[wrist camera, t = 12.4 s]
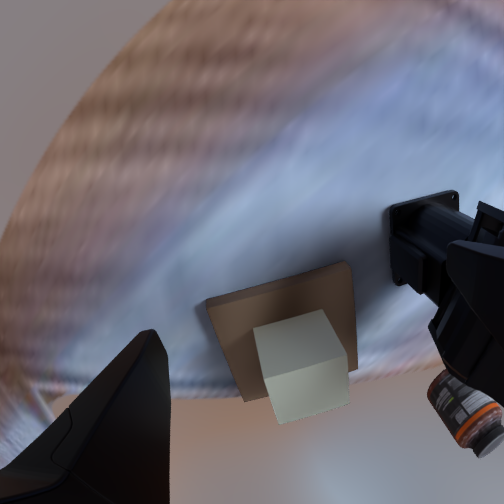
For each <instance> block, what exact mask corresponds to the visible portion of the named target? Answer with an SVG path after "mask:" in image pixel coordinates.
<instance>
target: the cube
mask: <svg viewBox="0 0 504 504" xmlns="http://www.w3.org/2000/svg"><path fill="white" fill-rule="evenodd" d="M253 331H254V336H255V341H256V346H257V350H258V355H259V360H260V365H261V369H262V374H263V379H264V382H265V385H266V388H267V391H268V394H269V397H270V400H271V403H272V406H273V409H274V412H275V415H276V418H277V421H278V424H279V425H281V424H285V423H288V422H292V421H296V420H299V419H303V418H306V417H310V416H313V415H317V414H320V413H323V412H326V411H329V410H332V409H336V408H339V407H341V406H345V405H348V404H349V403H350V402H349V377H348V360H347V353H346V351H345V349H344V348H343V346H342V344H341V342H340V340H339V338H338V337H337V335H336V333H335V331H334V329H333V327H332V326H331V324H330V322H329V320H328V318H327V317H326V315H325V313H324V311H323V309H320V310H316V311H313V312H310V313H306V314H303V315H299V316H296V317H292V318H289V319H285V320H282V321H278V322H275V323H271V324H267V325H263V326H260V327H256V328H253Z"/></svg>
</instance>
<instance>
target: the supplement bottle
mask: <svg viewBox="0 0 504 504" xmlns="http://www.w3.org/2000/svg"><path fill="white" fill-rule="evenodd" d="M427 397H428V400H429V401H430V403H431V404H432V406H433V407H434V409H435V410H436V412H437V413H438V415H439V416H440V418H441V419H442V421H443V422H444V424H445V425H446V427H447V428H448V430H449V431H450V433H451V435H452V436H453V438H454V439H455V440H456V442H457V443H458V445H459V446H460V447H462V448H471V449H473V452H474V453H475V454H476V456H477V457H478V458H482V457H484V456H486V455H487V454H489V453H490V452H492V451H493V450H494V449H495V448H496V447H497V446H499V445H500V443H501V442H502V441H503V440H504V427H503V426H502V425H501V417H502V411H501V409H500V407H499V406H498V405H497V403H496V402H495V401H494V400H493V399H492V398H491V397H489V396H487V395H486V394H484V393H482V392H481V391H478V390H476V389H473V388H470V387H468V386H467V385H465V384H464V383H462V382H460V381H459V380H458V379H456V378H455V377H454V376H452V375H450V374H449V372H448V370H447V368H446V369H445V370H443V371H442V372H441V373H440V374H439V375H438V376H437V377H436V378H435V379H434V381H433V382H432V383H431V385H430V386H429V389H428V392H427Z"/></svg>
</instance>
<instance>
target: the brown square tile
mask: <svg viewBox="0 0 504 504" xmlns="http://www.w3.org/2000/svg"><path fill="white" fill-rule="evenodd" d="M206 309H207V312H208V315H209V317H210V320H211V322H212V325H213V327H214V330H215V333H216V335H217V338H218V340H219V343H220V345H221V348H222V350H223V353H224V355H225V358H226V360H227V362H228V365H229V367H230V370H231V372H232V375H233V377H234V379H235V382H236V384H237V386H238V389H239V391H240V393H241V396H242V398H243V400H244V402H247V401H251V400H255V399H259V398H263V397H267V396H269V394H268V391H267V388H266V385H265V382H264V379H263V374H262V369H261V365H260V360H259V355H258V350H257V346H256V341H255V336H254V331H253V328H256V327H260V326H263V325H267V324H271V323H275V322H278V321H282V320H285V319H289V318H292V317H296V316H299V315H303V314H306V313H310V312H313V311H316V310H320V309H323V311H324V313H325V315H326V317H327V318H328V320H329V322H330V324H331V326H332V327H333V329H334V331H335V333H336V335H337V337H338V338H339V340H340V342H341V344H342V346H343V348H344V349H345V351H346V353H347V360H348V372H351V371H354V370H356V369H358V354H357V334H356V317H355V304H354V291H353V280H352V270H351V267H350V266H349V265H348V264H347V263H346V262H345V261H343V262H339V263H336V264H333V265H329V266H326V267H322V268H319V269H315V270H312V271H308V272H305V273H301V274H298V275H294V276H291V277H287V278H284V279H280V280H277V281H273V282H269V283H266V284H262V285H258V286H255V287H251V288H247V289H244V290H240V291H236V292H232V293H229V294H225V295H221V296H217V297H213V298H210V299H206Z"/></svg>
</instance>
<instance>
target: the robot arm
mask: <svg viewBox="0 0 504 504" xmlns="http://www.w3.org/2000/svg"><path fill="white" fill-rule="evenodd" d="M453 195H454V197H453ZM452 197H453V199H452ZM477 209H478V211H477V214H476V217H475V219H473V218H471V217H469V216H467V215H465V214H463V213H461V212H459V194H458V192H456V191H454V190H449V191H445V192H441V193H437V194H434V195H430V196H426V197H422V198H418V199H414V200H410V201H407V202H403V203H399V204H395V205H393V206H392V207H391V208H390V211H389V215H390V229H391V236H390V238H389V242H390V263H391V268H392V273H393V282H394V283H395V284H396V285H397V286H402V285H404V284H407V283H408V284H409V285H410V286H411V287H412V288H413V289H414V290H415V291H416V292H417V293H418V294H420V295H421V294H423V293H424V294H425V295H426V296H427V297H428V298H429V299H430V300H431V301H432V302H434V303H435V304H436V305H437V306H438V307H439V308H438V310H437V312H436V314H435V316H434V318H433V319H431V321H430V323H429V325H428V329H429V331H430V333H431V335H432V338H433V340H434V342H435V344H436V347H437V349H438V351H439V354H440V356H441V358H442V361H443V363H444V365H445V367H446V368H447V370H448V372H449V374H450V375H452V376H454V377H455V378H456V379H458V380H459V381H460V382H462V383H464V384H465V385H467V386H468V387H470V388H473V389H476V390H478V391H481V392H482V393H484V394H486V395H487V396H489V397H491V398H492V399H494V400H495V401H496V402H498V403H499V404H500V405H501V406H503V407H504V211H502V210H500V209H497V208H495V207H493V206H490V205H488V204H486V203H483V202H481V201H479V203H478V206H477ZM396 210H398V213H397V214H396V215H395V211H396ZM399 278H400V280H399V281H398V279H399ZM170 418H171V395H170V381H169V366H168V355H167V352H166V350H165V348H164V346H163V344H162V342H161V340H160V338H159V336H158V334H157V332H156V331H155V330H154V329H149V330H145V331H141V332H140V333H139V334H138V335H137V336H136V337H135V338H134V339H133V340H132V341H131V342H130V343H129V344H128V345H127V346H126V347H125V348H124V349H123V350H122V351H121V352H120V353H119V354H118V355H117V356H116V357H115V358H114V359H113V360H112V361H111V362H110V363H109V364H108V365H107V366H106V367H105V368H104V370H103V371H102V372H101V373H100V374H99V375H98V376H97V377H96V378H95V379H94V380H93V381H92V382H91V383H90V384H89V385H88V386H87V387H86V388H85V389H84V390H83V391H82V393H81V394H80V395H79V396H78V397H77V398H76V399H75V400H74V401H73V402H72V403H71V404H70V405H69V408H66V409H65V410H64V412H63V413H62V414H61V415H60V416H59V417H58V418H57V419H56V420H55V421H54V422H53V423H52V424H51V425H50V426H49V427H48V428H47V429H46V430H45V431H44V432H43V433H42V434H41V435H40V436H39V437H38V438H36V439H35V440H34V441H33V442H32V443H31V444H30V445H29V446H28V447H27V448H26V449H25V450H23V451H22V452H21V453H20V454H19V455H18V456H17V457H16V458H15V459H14V460H13V461H12V462H10V463H9V464H8V465H7V466H6V467H4V468H2V469H1V470H0V504H170V489H169V488H170V487H169V484H170V483H169V469H170V466H169V465H170V464H169V463H170Z"/></svg>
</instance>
